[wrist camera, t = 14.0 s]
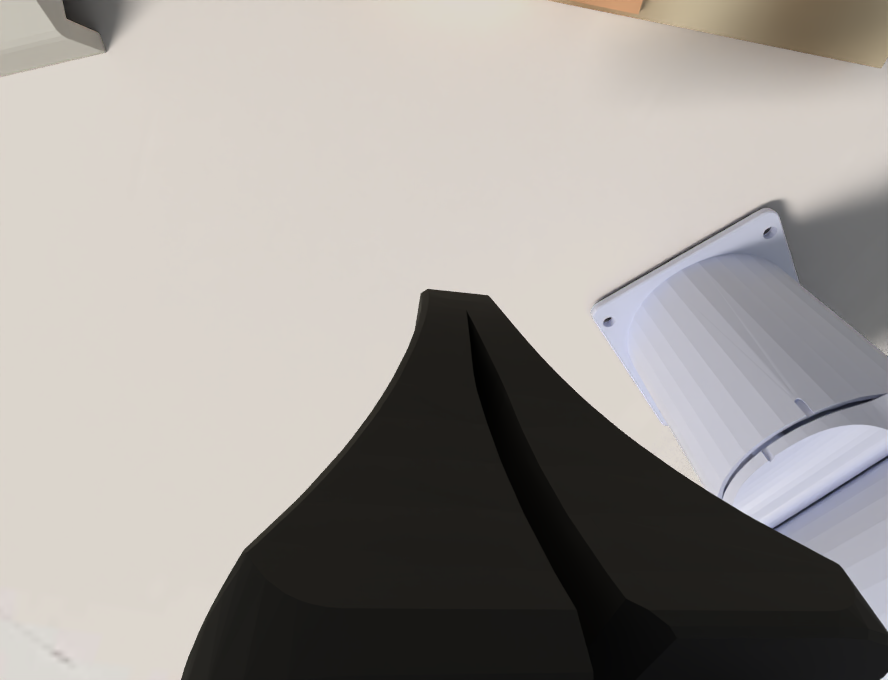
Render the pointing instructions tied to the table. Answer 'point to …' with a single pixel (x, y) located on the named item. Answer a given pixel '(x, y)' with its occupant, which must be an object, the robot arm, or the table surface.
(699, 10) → the rail
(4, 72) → the grey rounded block
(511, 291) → the table surface
